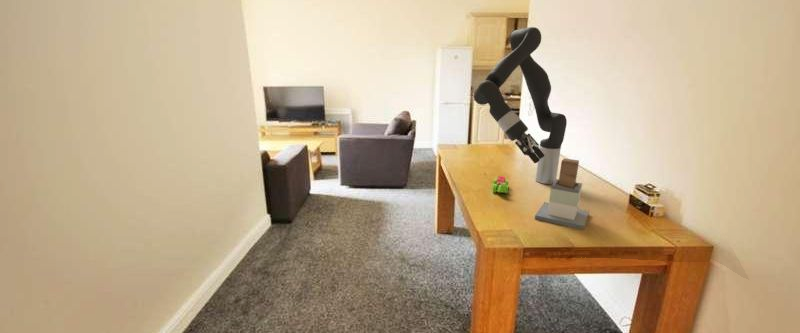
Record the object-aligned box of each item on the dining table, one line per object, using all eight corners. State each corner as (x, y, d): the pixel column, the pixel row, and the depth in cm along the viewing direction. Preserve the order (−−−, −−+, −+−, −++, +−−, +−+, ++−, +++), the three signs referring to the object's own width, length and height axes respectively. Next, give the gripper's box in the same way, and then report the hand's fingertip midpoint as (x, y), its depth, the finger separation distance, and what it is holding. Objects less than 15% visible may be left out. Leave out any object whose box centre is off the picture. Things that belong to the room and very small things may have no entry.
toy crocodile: (492, 182, 171) (493, 170, 170) (507, 184, 170) (508, 171, 168) (492, 196, 153) (493, 182, 151) (508, 198, 151) (510, 184, 150)
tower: (543, 205, 143) (548, 175, 140) (588, 214, 135) (593, 182, 132) (534, 219, 130) (539, 186, 127) (583, 230, 122) (589, 195, 119)
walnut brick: (560, 184, 133) (564, 158, 130) (574, 187, 130) (579, 160, 128) (557, 187, 129) (561, 161, 126) (572, 190, 126) (577, 163, 124)
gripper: (515, 121, 127) (544, 157, 124) (524, 117, 139) (552, 150, 136) (498, 134, 131) (527, 169, 129) (509, 129, 143) (536, 161, 140)
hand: (540, 159), depth 132 cm, fingers open, 8 cm apart
